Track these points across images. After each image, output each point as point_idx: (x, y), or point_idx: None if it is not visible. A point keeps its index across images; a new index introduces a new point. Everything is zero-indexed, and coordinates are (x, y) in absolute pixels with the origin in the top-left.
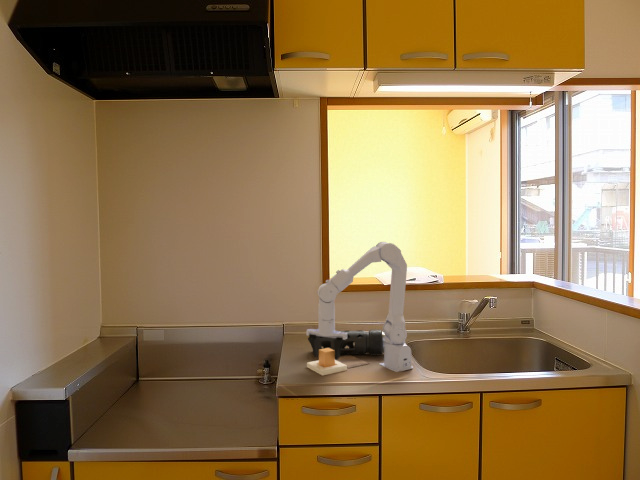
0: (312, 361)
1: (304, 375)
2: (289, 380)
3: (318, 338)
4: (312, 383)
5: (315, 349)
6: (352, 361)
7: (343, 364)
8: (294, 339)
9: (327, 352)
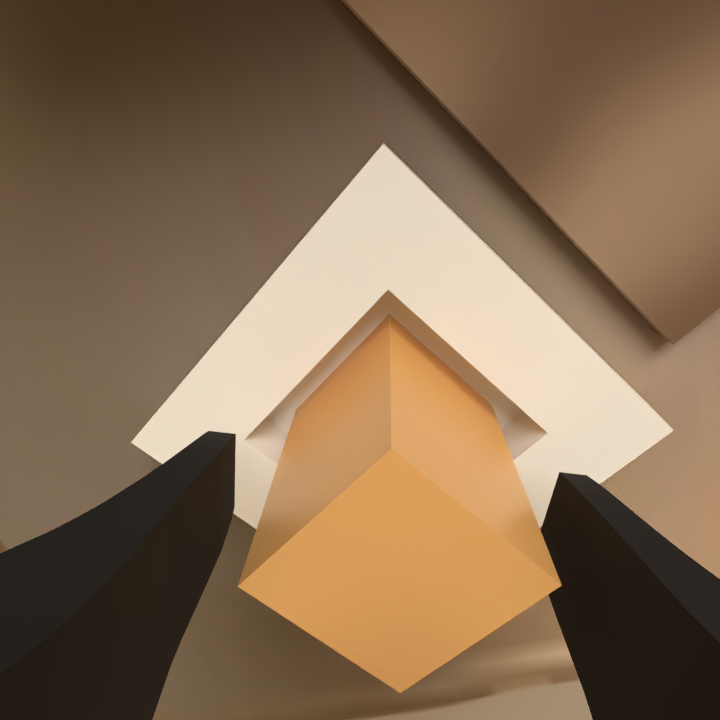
0: (176, 391)
1: (229, 581)
2: (166, 684)
3: (69, 687)
4: (361, 701)
5: (185, 617)
6: None
7: (623, 408)
8: None
9: (436, 660)
